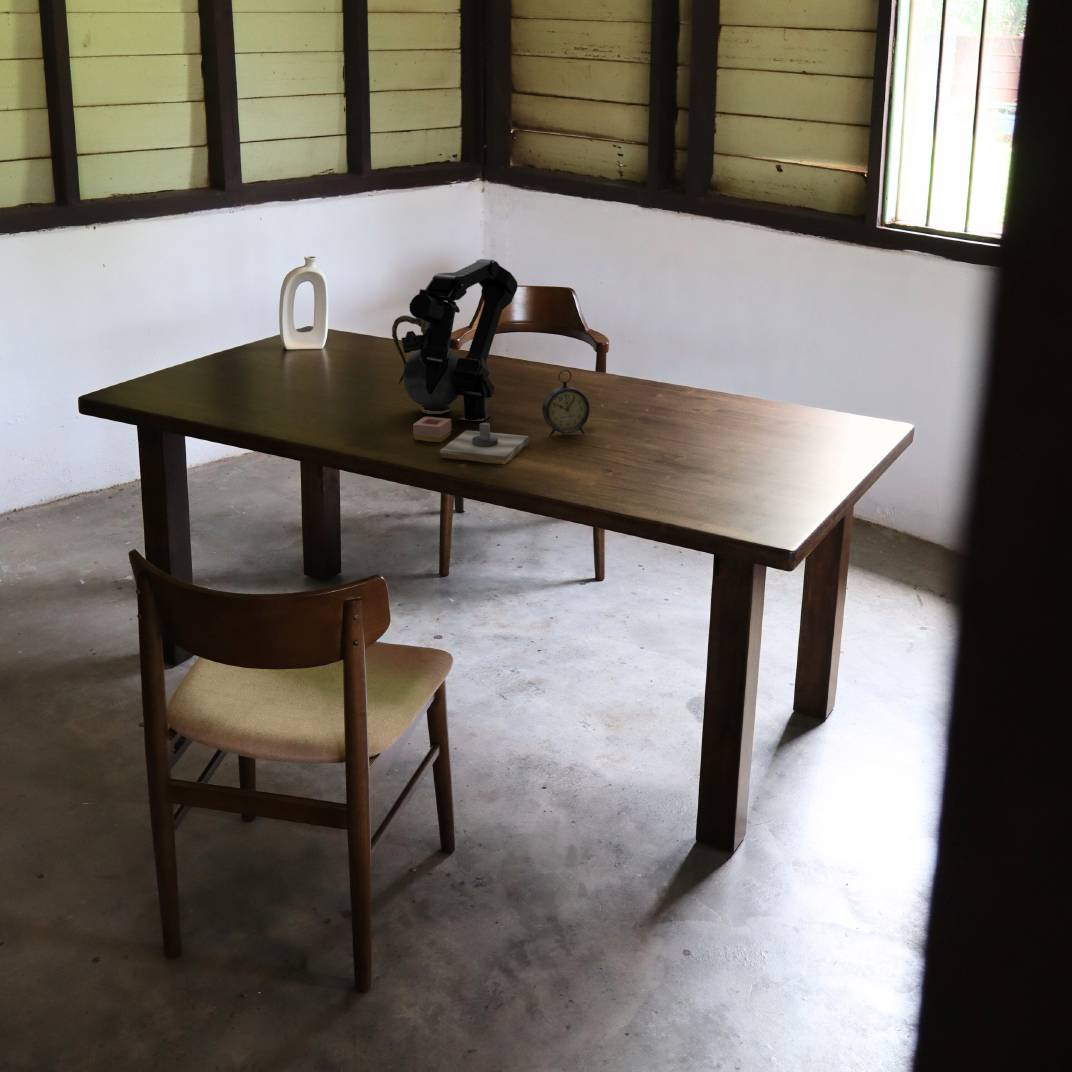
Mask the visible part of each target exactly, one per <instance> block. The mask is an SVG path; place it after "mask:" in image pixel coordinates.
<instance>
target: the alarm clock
mask: <svg viewBox="0 0 1072 1072" xmlns="http://www.w3.org/2000/svg"><path fill="white" fill-rule="evenodd" d="M563 372H568V373H569V375H570V376H569V379H568V380H563V381H562V380H561V378H560V376H561V374H562V373H563ZM557 378H558V380H559V382H560V383H561V384H562V386H558V387H555V388H554V389H552V390H551V391H550V392H549V393H547V395H546V396H545V398H544V399H543V403H542V409H541V410H542V416H543V419H544V421H545V422H546V423H547V424H548V426H549V427H551V428H552V430H551V432H550V434H548V437H549V436H551V437H552V436H553V435H554V433H555V432H559V433H560V434H571V433H575V432H577V431H578V430H579V431H580V432H581V433H582V434H583V435H584V434H585V433H586V431H585V430H583V428H582V427H583V426H584V425H585V424H586V422H587V421H588V419H589V416H590V411H591V410H590V403H589V400H588V398H587V397H586V395H585V394H584V393H583V392H582V391H580V390H578V388H574V387H572V386H569V385H567V383H569V382H570V381H571V379H572V373H571V371H570V370H568V369H562V370H561V371H560V372H559V373H558V376H557Z"/></svg>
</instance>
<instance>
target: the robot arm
mask: <svg viewBox="0 0 1072 1072" xmlns="http://www.w3.org/2000/svg"><path fill="white" fill-rule="evenodd" d="M477 284H479V285H480V287H481V291H480V293H481V296H482V299H483V306H482V309H481V312H480V315H479V319H478V321H477V325H476V328H475V331H474V333H473V337H472V341H471V344H470V347H469V350H468V353H467V354H466V356H464V357H459V359H458V360H457V364H456V368H455V370H454V371H453V372H454V374H453V378H452V381H453V385H454V389H455V393H456V395H459V396H463V415H464V417H465V419H468V420H477V419H482V418H484V419H486V418H485V417H486V416H490V415H487V414H486V413H487V399H489V398H492V397H493V395H494V391H495V385H494V384H493V383H492V381H491V379H489V375H490V371H489V367H488V362H487V361H488V357H489V353H490V350H491V348H492V344H493V341H494V338H495V334H496V332H497V328H498V325H499V322H500V320H501V316H502V313H503V310H505V308H507V307H508V306H509V305H510V304H511V303H512V302H513V300H514V297H515V294H516V292H517V291H518V281H517V279H516V278H515V276H514V275H513V274H512V273H511V272H510V270H507V269H506V268H504V267H503V266H501V265H500V264H499V262H498V261H495V259H486V258H485V259H484V258H480V259H476V260H475V262H474V263H471V264H469V265H467V266H465V267H463V268H461V269H459V270H457V271H454V272H440V273H435V274H434V276H432V279H431V280H430V282H429V283H428V285H426V287H425V289H423V288H420V289H419V293H418V294H416V295H414V297H412V299H411V301H410V302H409V312H410V314H411V316H412V317H413V318H418V319H421V320H423V321H426V322H428V323H429V325H428V328H427V329H426V332H425V334H423V333H422V334H416V333H415V332H414V331H413V330H409V331H406V334H405V336H403V337H401V338H400V339H401V344H402V345H401V346H402V352H403V354H408V353H411V352H415V351H417V350H421V353H420V357H423V358H420V359H421V361H422V362H423V363H422V364H423V366H424V367H425V369H426V390H427V393H428V394H432V393H433V391H434V390H435V388H436V386H437V385H438V383H439V382H440V380H441V378H442V377H443V375H444V373H445V372H446V370H447V368H448V364H449V358H448V353H449V350H450V345H451V340H452V336H453V335H452V333H453V327H454V321H455V316H456V313H460V311H461V309H460V308H459V306H458V305H457V302H456V301H459V300H461V299H462V298H463V297H464V296H465V295H466V294H467V290H468V289H469V288H471V287H473V286H475V285H477ZM490 417H491V416H490ZM486 420H487V419H486Z"/></svg>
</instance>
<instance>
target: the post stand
mask: <svg viewBox="0 0 1072 1072" xmlns="http://www.w3.org/2000/svg"><path fill="white" fill-rule="evenodd" d="M529 437H530V436H528V435H521V434H520V435H518V434H511V433H509V434H508V433H499V432H491V425H490V423H488V422H480V423H479V431H478V430H467V429H466V430H464V431H463V432H462V433H460V434H459V435H458V436H457V437H456V438H454V439H453V440H451V441H450V442H448V443H447V444H446V445H444V447H442V448H441V449H440V450H439V451H440V453H448V454H454V455H464V456H470V457H478V458H488V459H495V460H502V461H503V460H504V461H506V460H507V459H508V458H510V457H511V456H512V455H513V454H514V453H515V452H517V451H518V450H519V449H520V448H522V446H524V445H525V444H526V443H528V442H529V443H530V441H529V440H530V439H529Z"/></svg>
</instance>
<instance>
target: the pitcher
mask: <svg viewBox="0 0 1072 1072" xmlns="http://www.w3.org/2000/svg"><path fill="white" fill-rule="evenodd" d="M401 323H409V324H411V325H417V326H418V327H419V328H420V333H422V335H423V334H425V332H426V329H427V328H428V325H429V323H428V322H426V321H423V320H421V319H418V318H416V317H414V316H411V315H400V316H398V317H397V318H396V319H394V321H393V324H392V327H391V331H392V332H391V333H392V334H391V337H392V339H393V342H394V345H395V347H396V349H397V351H398V353H399V355H400V357H401V359H402V362H403V371H402V372H403V373H402V375H401V376H400V379H399V381H398V385H400V384H401V382H402V381H403V386H404V388H405V391H406V393H407V395H408V397H409V398H410V399H411V400H413V401H414V402H415V403H417V404H418V405H420V406H421V407H424V409H425V410H430V411H445V410H449V409H450V408H451V407H450V406H449V405H450V404H452V403H453V402H455V401H457V399H458V398H459V397H460V395H456V393H455V389H454V385H453V381H452V378H453V374H454V372H453V371H454V370H455V368H456V364H457V360H458V359H459V358H460V357H459V356H458V355H457V354H456V353H455V352H453V351H452V350H451V349H449V353H448V358H449V364H448V368H447V370H446V372H445V373H444V375H443V377H442V378H441V380H440V382H439V383H438V385H437V386H436V388H435V390H434V391H433V393H432V394H428V393H427V390H426V369H425V367H424V366H423V364H422V363H423V362H422V361H421V359H420V358H423V357H420V353H421V350H416V351H413V353H412V354H411V355H410V356H409V357H408V358H407V360H406V357H405V355H404V351H403V349H401V346H400V344H399V338H398V332H397V331H398V327H399V325H400V324H401Z"/></svg>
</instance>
